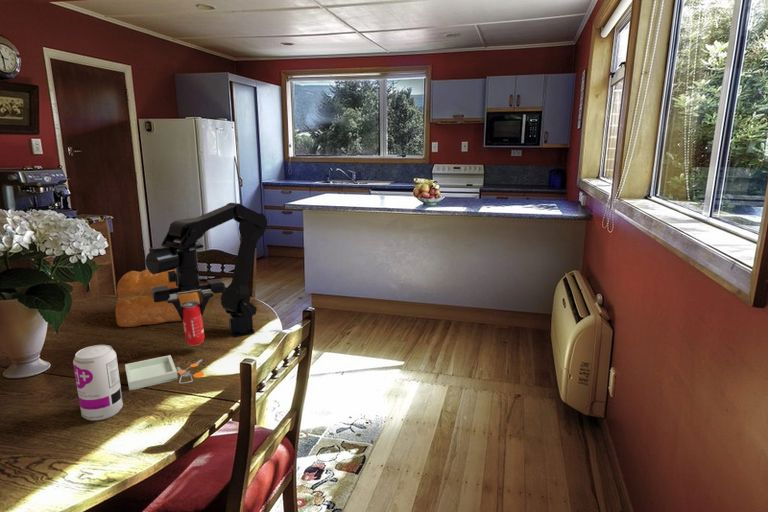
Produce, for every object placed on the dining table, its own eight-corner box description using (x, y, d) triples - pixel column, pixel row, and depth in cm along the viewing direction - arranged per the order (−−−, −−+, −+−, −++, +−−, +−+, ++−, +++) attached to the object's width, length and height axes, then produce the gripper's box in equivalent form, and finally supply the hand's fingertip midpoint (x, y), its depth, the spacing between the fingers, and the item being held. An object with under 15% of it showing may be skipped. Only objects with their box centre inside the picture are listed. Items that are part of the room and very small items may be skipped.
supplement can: (94, 426, 103) (84, 363, 99) (74, 414, 107) (64, 353, 103) (130, 409, 109) (122, 349, 106) (110, 398, 114) (102, 340, 110)
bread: (120, 314, 167) (114, 267, 163) (199, 305, 177) (196, 261, 173) (114, 330, 153) (107, 279, 149) (200, 320, 163) (196, 272, 159)
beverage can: (199, 346, 136) (193, 308, 132) (182, 345, 137) (176, 307, 133) (208, 338, 141) (203, 300, 137) (192, 337, 141) (186, 300, 138)
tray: (171, 362, 132) (170, 355, 132) (177, 379, 123) (177, 371, 123) (125, 371, 127) (124, 364, 126) (129, 390, 117) (128, 382, 117)
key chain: (205, 381, 123) (205, 378, 123) (175, 386, 120) (174, 383, 120) (204, 359, 135) (204, 357, 134) (176, 364, 132) (175, 361, 132)
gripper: (214, 255, 144) (218, 304, 147) (146, 263, 134) (152, 315, 138) (223, 264, 135) (227, 316, 138) (151, 273, 125) (157, 328, 129)
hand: (191, 318), depth 136 cm, fingers closed on beverage can, 5 cm apart
